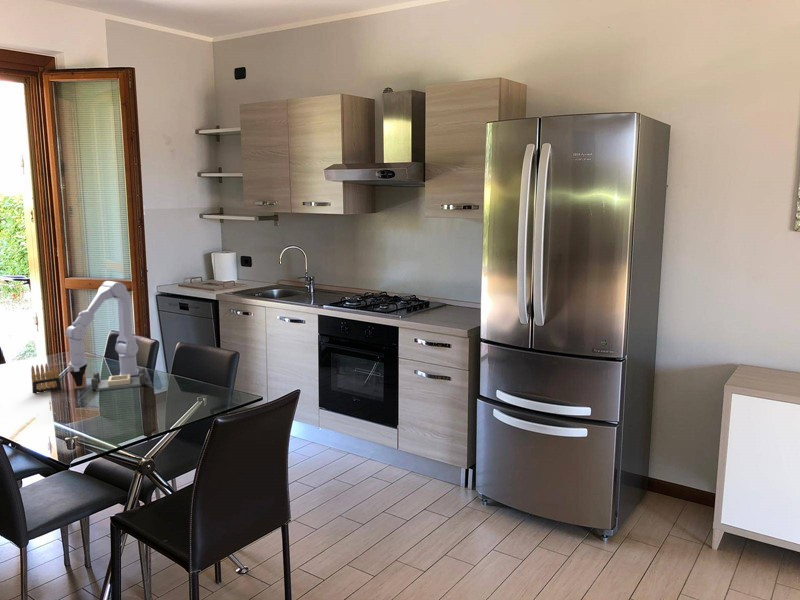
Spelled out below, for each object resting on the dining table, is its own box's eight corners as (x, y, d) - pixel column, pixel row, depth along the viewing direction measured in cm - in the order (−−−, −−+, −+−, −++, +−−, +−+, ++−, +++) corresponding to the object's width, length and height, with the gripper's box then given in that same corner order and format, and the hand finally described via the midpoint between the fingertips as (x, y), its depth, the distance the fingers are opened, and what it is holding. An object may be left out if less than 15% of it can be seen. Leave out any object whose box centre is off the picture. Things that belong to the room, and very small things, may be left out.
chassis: (95, 382, 295) (94, 371, 294) (145, 377, 302) (145, 366, 301) (92, 391, 282) (91, 380, 281) (145, 386, 289) (144, 374, 288)
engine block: (75, 386, 291) (74, 373, 290) (86, 384, 292) (85, 372, 291) (74, 388, 287) (73, 375, 286) (85, 387, 288) (84, 374, 287)
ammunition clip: (33, 393, 281) (30, 366, 279) (32, 392, 282) (29, 365, 280) (61, 388, 287) (58, 361, 285) (60, 387, 288) (57, 361, 286)
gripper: (69, 350, 293) (72, 380, 295) (64, 357, 279) (67, 389, 281) (86, 348, 295) (89, 378, 297) (83, 356, 281) (86, 387, 284)
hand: (80, 383), depth 289 cm, fingers open, 7 cm apart
